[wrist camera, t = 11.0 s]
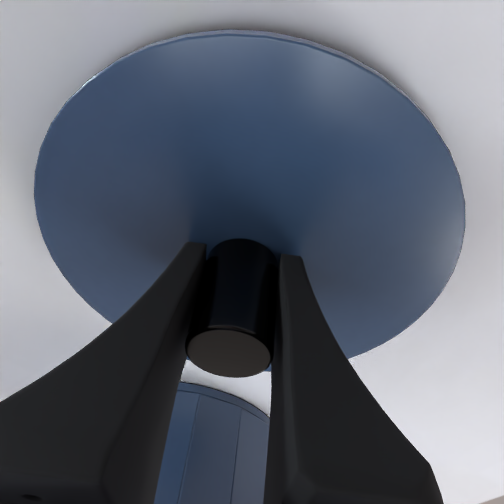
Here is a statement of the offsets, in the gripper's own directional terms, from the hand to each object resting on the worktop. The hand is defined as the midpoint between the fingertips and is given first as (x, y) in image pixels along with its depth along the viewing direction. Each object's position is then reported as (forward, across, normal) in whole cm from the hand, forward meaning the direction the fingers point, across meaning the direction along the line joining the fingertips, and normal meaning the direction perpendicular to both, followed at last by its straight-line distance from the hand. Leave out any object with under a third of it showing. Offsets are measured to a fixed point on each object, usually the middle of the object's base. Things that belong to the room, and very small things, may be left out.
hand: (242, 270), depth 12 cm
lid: (+1, 0, 0) cm, 1 cm away
